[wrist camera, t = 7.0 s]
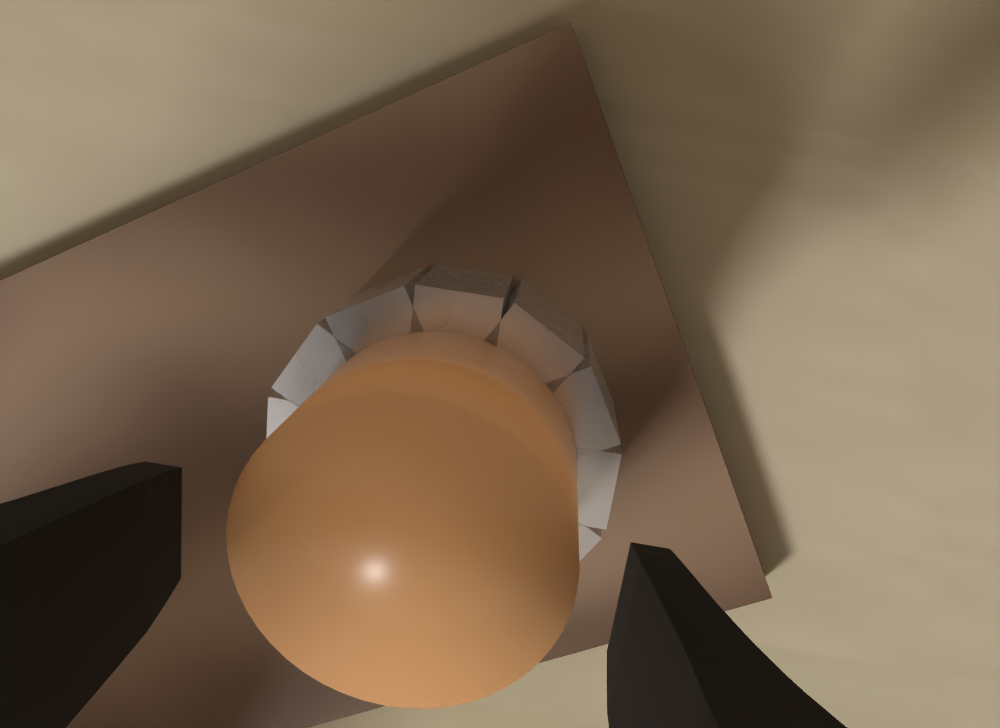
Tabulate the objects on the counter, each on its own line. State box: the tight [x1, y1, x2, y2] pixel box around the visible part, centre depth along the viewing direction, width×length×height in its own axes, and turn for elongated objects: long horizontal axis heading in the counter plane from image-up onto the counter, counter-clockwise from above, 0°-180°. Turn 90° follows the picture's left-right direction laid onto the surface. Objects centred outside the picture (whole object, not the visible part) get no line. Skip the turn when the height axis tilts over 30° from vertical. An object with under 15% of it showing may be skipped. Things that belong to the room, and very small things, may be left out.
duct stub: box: [266, 264, 622, 561], centre depth 16 cm, size 7×7×2 cm
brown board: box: [0, 22, 772, 728], centre depth 18 cm, size 14×20×1 cm
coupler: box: [226, 331, 580, 709], centre depth 14 cm, size 6×6×6 cm
